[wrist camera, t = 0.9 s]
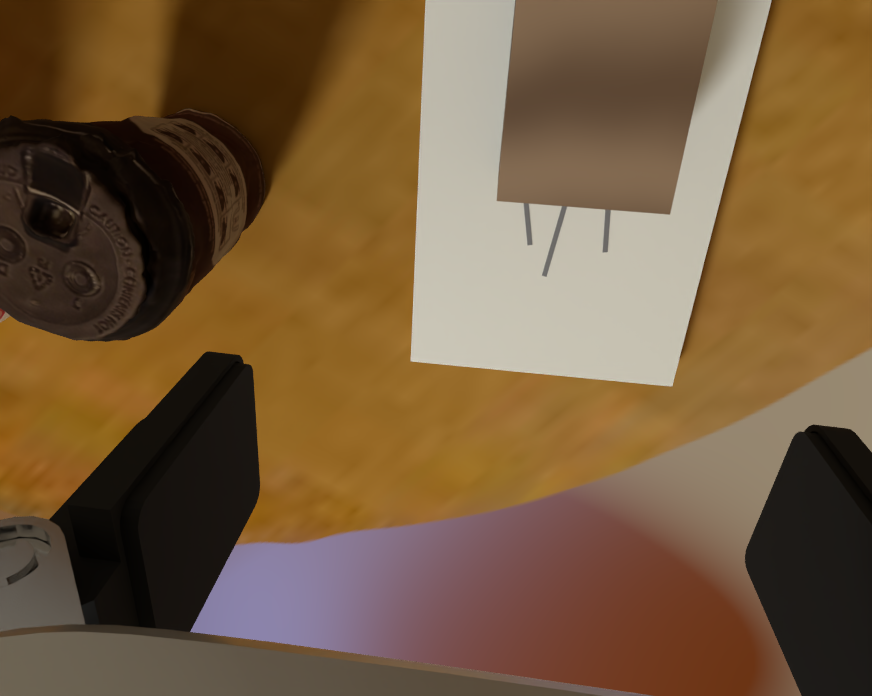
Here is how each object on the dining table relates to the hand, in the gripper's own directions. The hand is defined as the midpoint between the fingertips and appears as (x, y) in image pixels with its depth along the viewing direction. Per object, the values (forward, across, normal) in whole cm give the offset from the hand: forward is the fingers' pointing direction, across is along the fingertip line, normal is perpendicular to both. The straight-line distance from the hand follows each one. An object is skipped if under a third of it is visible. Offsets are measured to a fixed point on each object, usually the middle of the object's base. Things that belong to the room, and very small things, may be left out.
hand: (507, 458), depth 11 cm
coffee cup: (+23, +15, +1) cm, 28 cm away
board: (+23, -3, 0) cm, 23 cm away
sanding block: (+21, -3, -5) cm, 22 cm away
